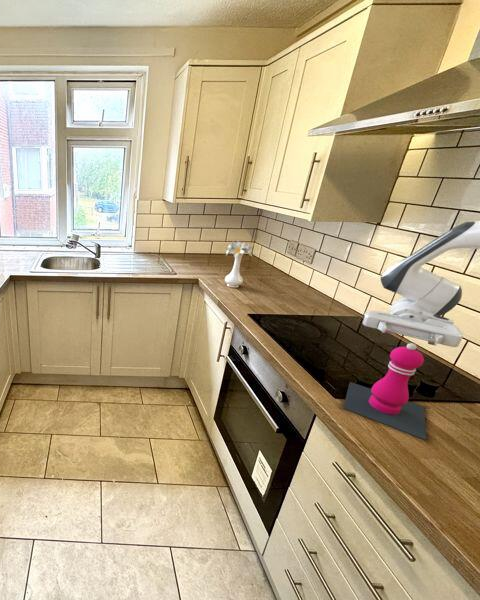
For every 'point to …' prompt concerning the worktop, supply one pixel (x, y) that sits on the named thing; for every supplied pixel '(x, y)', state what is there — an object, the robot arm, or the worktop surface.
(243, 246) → the flower vase
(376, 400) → the pepper mill
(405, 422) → the mat
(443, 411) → the worktop surface
